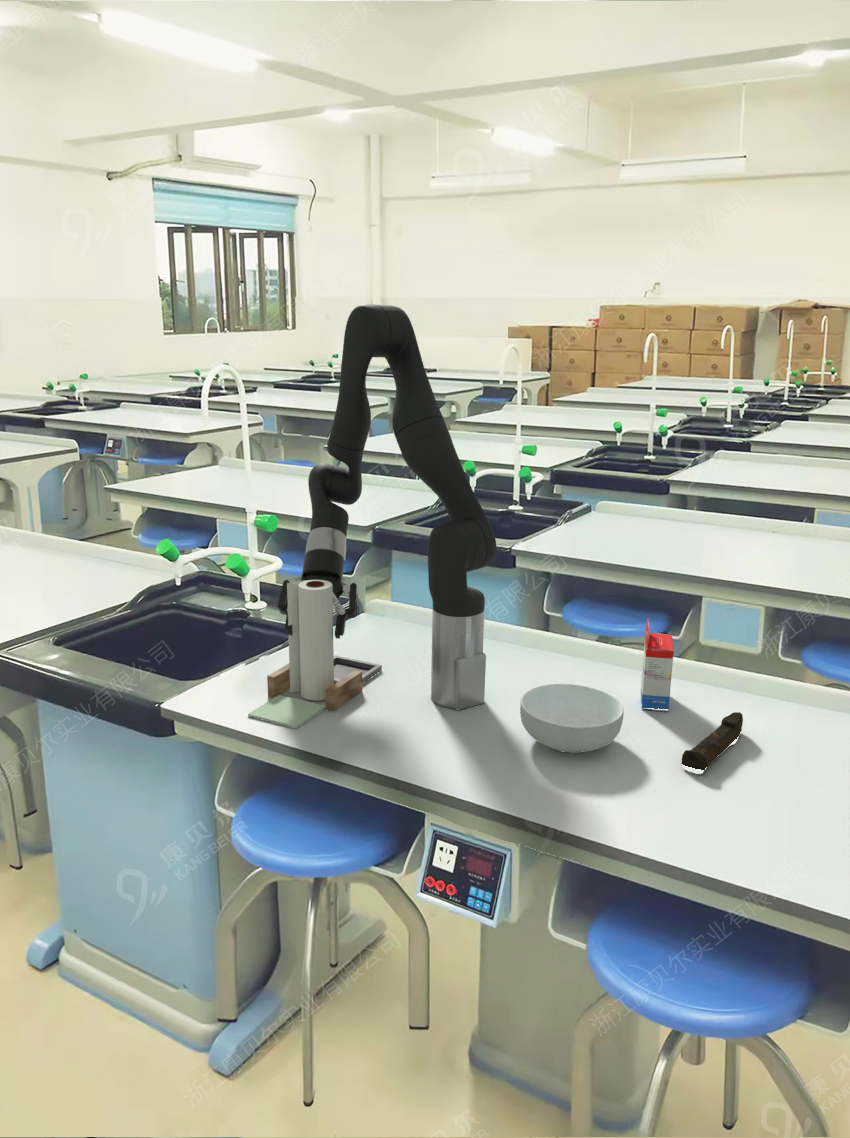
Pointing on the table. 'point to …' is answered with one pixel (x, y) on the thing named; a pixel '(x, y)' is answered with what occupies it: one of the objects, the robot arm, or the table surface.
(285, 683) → the walnut guide channel
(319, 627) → the paper towel roll
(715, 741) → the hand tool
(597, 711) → the cereal bowl
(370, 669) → the gray square tray
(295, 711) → the sage pad
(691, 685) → the table surface
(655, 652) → the ink box
